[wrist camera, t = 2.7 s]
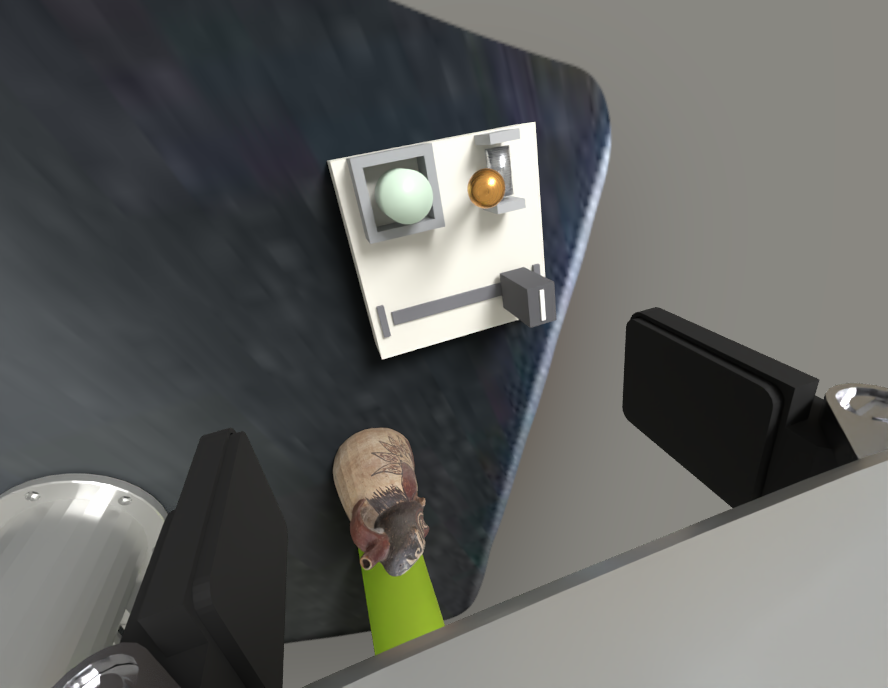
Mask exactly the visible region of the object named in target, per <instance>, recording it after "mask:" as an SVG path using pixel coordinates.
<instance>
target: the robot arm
mask: <svg viewBox="0 0 888 688" xmlns="http://www.w3.org/2000/svg"><path fill="white" fill-rule="evenodd" d="M818 382H819V379H817V378H815V377H813V376H810V375H808V374H805V373H804V372H801V371H799V370H797V369H795V368H792V367H790V366H788V365H786V364H783V363H781V362H779V361H777V360H775V359H772V358H770V357H768V356H766V355H763V354H761V353H759V352H757V351H754V350H752V349H750V348H748V347H746V346H743V345H741V344H739V343H737V342H735V341H732V340H730V339H728V338H725V337H723V336H721V335H719V334H717V333H714V332H712V331H710V330H708V329H705V328H703V327H701V326H699V325H697V324H694V323H692V322H690V321H687V320H685V319H683V318H681V317H679V316H677V315H674V314H672V313H670V312H668V311H665V310H663V309H661V308H657V307H655V308H651V309H647V310H644V311H641V312H637V313H635V314H633V315H632V317H631V319H630V321H629V322H628V323H627V326H626V343H625V363H624V384H623V385H624V386H623V406H622V407H623V412H624V415H625V417H626V418H627V420H628V421H630V422H631V423H632V424H633V425H634V426H635V427H637V428H638V429H639V430H640V431H641V432H643V433H644V434H645V435H646V436H647V437H649V438H650V439H651V440H652V441H653V442H654V443H656V444H657V445H658V446H659V447H660V448H662V449H663V450H664V451H665V452H666V453H668V454H669V455H670V456H671V457H672V458H674V459H675V460H676V461H677V462H678V463H680V464H681V465H682V466H683V467H684V468H686V469H687V470H688V471H689V472H690V473H691V474H693V475H694V476H695V477H697V479H699V480H700V481H701V482H702V483H704V484H705V485H706V486H707V487H708V488H709V489H711V490H712V491H713V492H714V493H715V494H717V495H718V496H719V497H720V498H721V499H723V500H724V501H725V502H726V503H727V504H729V505H730V506H731V507H732V508H733V509H730V510H728V511H725V512H723V513H720V514H718V515H715V516H713V517H710V518H708V519H705V520H703V521H700V522H698V523H695V524H693V525H690V526H688V527H685V528H683V529H680V530H678V531H675V532H673V533H670V534H668V535H666V536H663V537H661V538H658V539H656V540H653V541H651V542H648V543H646V544H643V545H641V546H638V547H636V548H634V549H631V550H629V551H626V552H624V553H621V554H619V555H616V556H614V557H611V558H609V559H606V560H604V561H602V562H599V563H597V564H594V565H592V566H589V567H587V568H585V569H582V570H579V571H577V572H575V573H572V574H570V575H567V576H565V577H562V578H560V579H558V580H555V581H552V582H550V583H548V584H545V585H543V586H540V587H538V588H536V589H533V590H531V591H528V592H526V593H523V594H521V595H519V596H516V597H514V598H512V599H509V600H507V601H504V602H502V603H499V604H497V605H494V606H492V607H490V608H487V609H485V610H482V611H480V612H478V613H475V614H473V615H470V616H468V617H465V618H463V619H461V620H458V621H456V622H454V623H451V624H448V625H446V626H444V627H441V628H439V629H436V630H434V631H432V632H429V633H427V634H424V635H422V636H419V637H417V638H415V639H412V640H410V641H407V642H405V643H403V644H400V645H398V646H396V647H394V648H391V649H389V650H387V651H384V652H382V653H380V654H377V655H375V656H373V657H370V658H368V659H366V660H364V661H361V662H359V663H357V664H355V665H352V666H350V667H347V668H345V669H343V670H340V671H338V672H336V673H334V674H331V675H329V676H327V677H324V678H322V679H320V680H318V681H315V682H313V683H310V684H308V685H306V686H304V687H302V688H888V388H885V387H881V386H877V385H870V384H863V383H846V384H839V385H835V386H833V387H831V388H829V389H828V391H827V392H826V393H825V396H824V400H823V399H821V398H819V397H817V396H815V393H816V389H817V386H818ZM287 544H288V533H287V526H286V522H285V520H284V517H283V515H282V513H281V510H280V508H279V506H278V504H277V502H276V499H275V497H274V495H273V493H272V490H271V488H270V486H269V484H268V482H267V479H266V477H265V475H264V473H263V470H262V468H261V466H260V464H259V461H258V459H257V457H256V455H255V453H254V450H253V448H252V446H251V444H250V441H249V439H248V437H247V435H246V434H245V432H243V431H242V432H238V433H236V432H235V430H234V429H233V428H228V429H224V430H221V431H217V432H214V433H210V434H207V435H203V436H202V437H201V438H200V441H199V444H198V446H197V449H196V452H195V455H194V458H193V461H192V464H191V467H190V469H189V472H188V475H187V478H186V481H185V484H184V487H183V490H182V492H181V495H180V498H179V501H178V504H177V507H176V510H173V511H171V512H170V513H169V514H167V512H166V511H165V509H164V507H163V506H162V505H161V504H160V503H159V502H158V501H157V500H156V499H155V498H154V497H153V496H152V495H150V494H149V493H147V492H146V491H144V490H143V489H141V488H139V487H137V486H135V485H133V484H130V483H128V482H126V481H123V480H119V479H115V478H112V477H108V476H102V475H94V474H60V475H52V476H46V477H42V478H38V479H34V480H30V481H27V482H25V483H22V484H20V485H18V486H15V487H13V488H11V489H9V490H7V491H6V492H4V493H3V494H1V495H0V688H282V684H283V657H284V628H285V600H286V572H287ZM120 625H121V627H122V628H123V629H124V632H123V635H122V636H121V634H120V633H119V632H118V629H119V626H120Z"/></svg>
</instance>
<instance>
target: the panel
mask: <svg viewBox="0 0 888 688" xmlns="http://www.w3.org/2000/svg"><path fill="white" fill-rule="evenodd" d="M503 145H509V148H510V159H511V170H512V181H513V192H514V194H512V195H510V196H505V197H503V199H502V200H501V201H500V203H499V204H497V205H496V206H494V207H492V208H487V209H484V208H480V207H477V206H476V205H474V204H473V203H472V202H471V200H470V198H469V196H468V192H467V186H468V182H469V179H470V178H471V176H472V175H473V174H474V173H475V172H476V171H478V170H480V169H484V168H487V167H486V158H485V149H487V148H492V147H497V146H503ZM327 163H328V167H329V171H330V174H331V178H332V182H333V186H334V189H335V193H336V197H337V201H338V204H339V208H340V212H341V216H342V219H343V223H344V227H345V231H346V234H347V238H348V242H349V246H350V250H351V253H352V257H353V261H354V265H355V268H356V272H357V276H358V280H359V283H360V287H361V291H362V295H363V298H364V302H365V306H366V310H367V313H368V317H369V321H370V325H371V328H372V332H373V336H374V340H375V344H376V346H377V349H378V351H379V353H380V356H381V358H382V359H386V358H389V357H393V356H396V355H399V354H403V353H406V352H410V351H413V350H416V349H420V348H423V347H427V346H430V345H433V344H437V343H440V342H444V341H447V340H451V339H454V338H457V337H461V336H464V335H468V334H471V333H474V332H478V331H481V330H485V329H488V328H491V327H495V326H498V325H502V324H505V323H509V322H512V321H515V320H519V319H518V318H517V317H515V316H514V315H513V314H511V313H510V312H509V311H507V310H506V309H504V308H503V299H502V290H501V282H500V273H503V272H506V271H510V270H514V269H518V268H521V267H525V268H527V269H529V270H531V271H533V272H535V273H537V274H539V275H541V276H543V277H545V267H544V251H543V235H542V220H541V204H540V188H539V173H538V157H537V141H536V125H535V122H532V123H524V124H517V125H511V126H506V127H501V128H496V129H490V130H485V131H480V132H475V133H470V134H464V135H459V136H454V137H449V138H444V139H438V140H433V141H428V142H423V143H418V144H412V145H407V146H402V147H397V148H392V149H386V150H381V151H376V152H371V153H365V154H360V155H355V156H350V157H345V158H339V159H334V160H329V161H327ZM393 168H403V169H410V170H415V171H417V172H419V173H421V174H422V175H423V176H425V178H426V179H427V180H428V181H429V183H430V185H431V188H432V192H433V203H432V206H431V209H430V211H429V213H428V214H427V215H426V216H425V218H423V219H422V220H421V221H419V222H417V223H414V224H401V223H398V222H396V221H395V220H393V219H391V218H390V217H388V216H387V215H386V214H384V213H383V212H382V211H381V210H380V208H379V207H378V205H377V203H376V199H375V187H376V183H377V181H378V179H379V178H380V176H381V175H382V174H383V173H385V172H386V171H388V170H390V169H393Z"/></svg>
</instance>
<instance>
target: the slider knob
mask: <svg viewBox="0 0 888 688" xmlns="http://www.w3.org/2000/svg"><path fill="white" fill-rule="evenodd" d="M500 282H501V290H502V299H503V308H504V309H506V310H507V311H509V312H510V313H511V314H513V315H514V316H515V317H517V318H518V319H519V320H521V321H522V322H523V323H525V324H526V325H528V326H529V327H530V328H531V327H534V326H538V325H541V324H544V323H548V322H551V321H554V320H556V306H555V288H554V282H553V281H551V280H549V279H547V278H545V277H543V276H541V275H539V274H537V273H535V272H533V271H531V270H529V269H527V268H525V267H521V268H518V269H514V270H510V271H506V272H503V273H500Z"/></svg>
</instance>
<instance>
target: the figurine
mask: <svg viewBox="0 0 888 688" xmlns="http://www.w3.org/2000/svg"><path fill="white" fill-rule="evenodd" d="M333 477H334V482H335V486H336V489H337V492H338V495H339V498H340V500H341V503H342V505H343V507H344V509H345V512H346V514H347V516H348V518H349V520H350V521H351V522H350V533H351V536H352V539H353V541H354V543H355V544H356V546H357V547H358V548H359V549H360V550H361V551H363V552H365V553H364V554H363V555H362V556H361V558H360V564H361V566H362V567H363V568H364V569H365V570H370V569H371V568H373V567H374V566H375V565H376V564H377V563H378V562H380V563H381V564H382V565H383V567H384V569H385V570H386V572H387V573H388V574H389V575H391V576H395V577H396V576H401V575H402V574H404V573H405V572H407V571H408V570H409V569H410V568H411V567H412V566H413V565H414V564H415V563H416V561H417V560H418V559H419V558H420V556H421V555H422V553H423V551H424V548H425V539H424V538H425V537H426V535H427V533H428V532H429V526H428V525H426V524H425V522H424V520H423V508H424V506H425V498H424V497H423V498H419V497H418V496H417V481H416V476H415V473H414V458H413V454H412V450H411V448H410V444H409V442H408V440H407V439H406V438H405V437H404V436H403V435H402V434H400V433H399V432H397V431H394V430H392V429H389V428H371V429H366V430H363V431H360V432H358V433H355V434H354V435H352V436H351V437H350V438H348V439H347V440H346V441H345V442H344V443H343V444H342V445H341V446H340V447H339V450H338V452H337V454H336V456H335V460H334V466H333Z"/></svg>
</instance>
